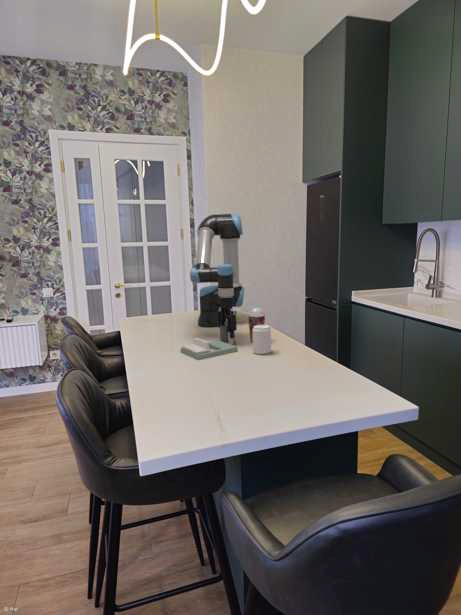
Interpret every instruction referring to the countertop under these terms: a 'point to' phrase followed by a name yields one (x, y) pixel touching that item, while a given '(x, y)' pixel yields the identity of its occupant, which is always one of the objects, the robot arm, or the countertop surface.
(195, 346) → the panel
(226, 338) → the plug
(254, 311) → the smoothie
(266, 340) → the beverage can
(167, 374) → the countertop surface
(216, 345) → the socket plate
